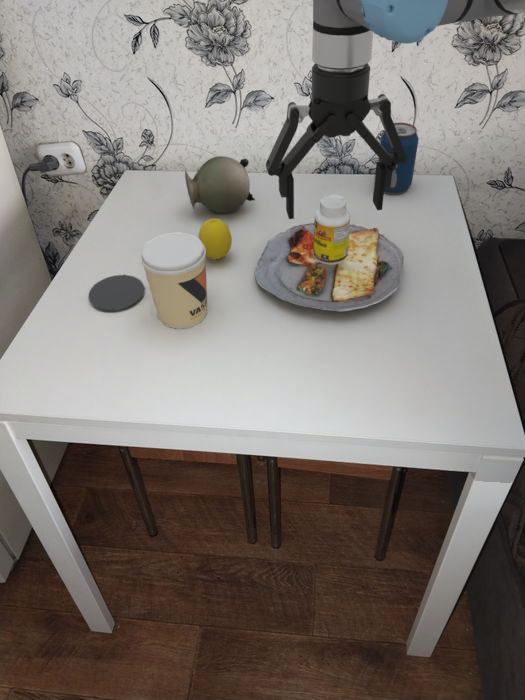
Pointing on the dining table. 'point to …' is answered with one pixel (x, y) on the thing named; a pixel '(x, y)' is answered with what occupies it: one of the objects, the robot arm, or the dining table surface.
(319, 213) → the supplement bottle
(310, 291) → the food plate
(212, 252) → the lemon
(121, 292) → the slate coaster
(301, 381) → the dining table surface
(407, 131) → the soda can
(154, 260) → the coffee cup
